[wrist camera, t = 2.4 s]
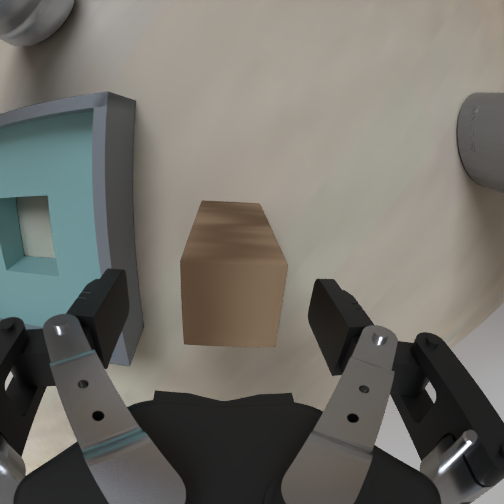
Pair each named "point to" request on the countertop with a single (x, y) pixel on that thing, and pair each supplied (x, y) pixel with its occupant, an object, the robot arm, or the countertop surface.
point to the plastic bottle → (31, 19)
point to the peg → (232, 277)
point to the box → (69, 206)
